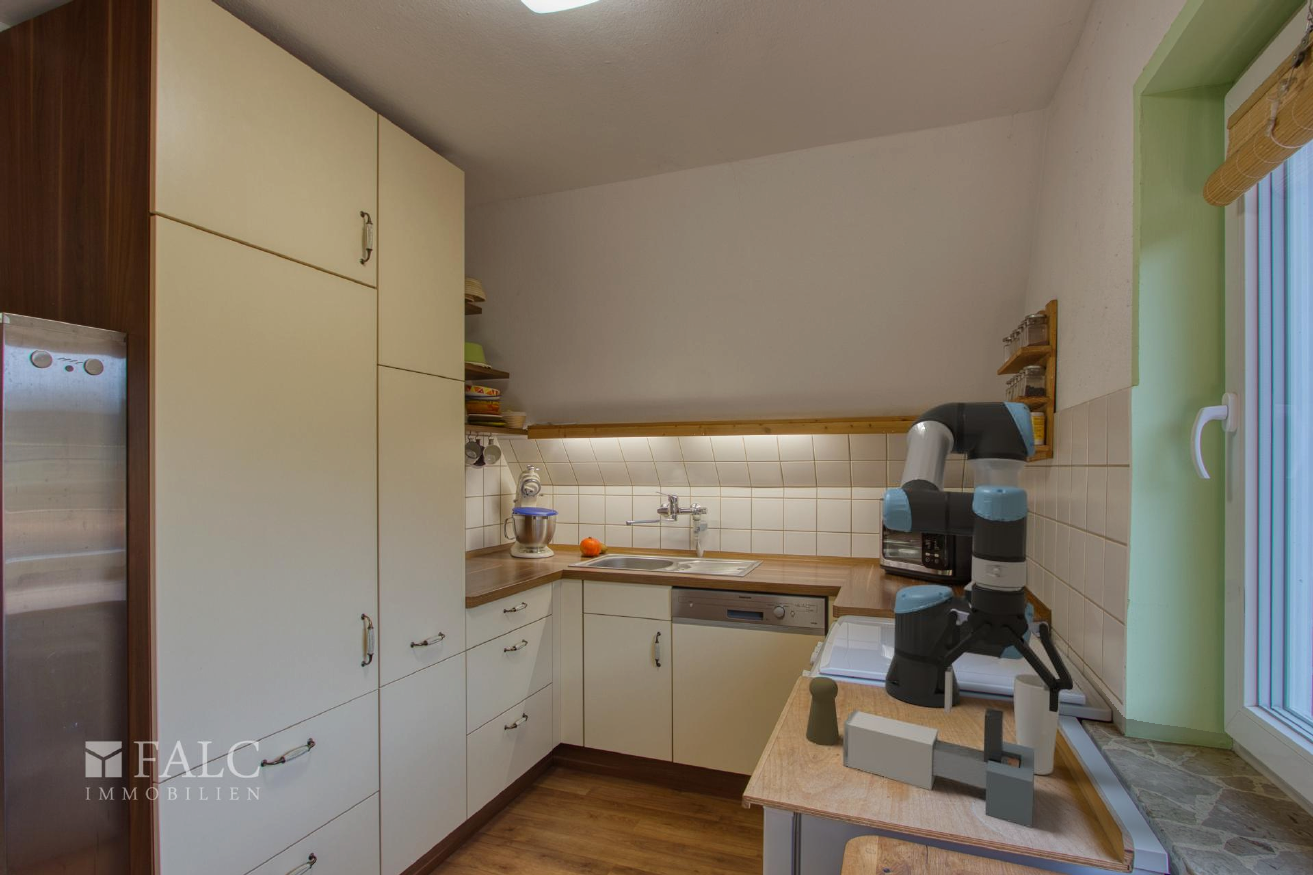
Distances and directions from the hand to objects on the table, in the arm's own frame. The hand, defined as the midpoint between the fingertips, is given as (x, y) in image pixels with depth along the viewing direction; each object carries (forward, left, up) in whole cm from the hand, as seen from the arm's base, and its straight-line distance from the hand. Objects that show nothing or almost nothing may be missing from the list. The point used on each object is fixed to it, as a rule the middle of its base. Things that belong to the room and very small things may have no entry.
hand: (995, 720), depth 103 cm
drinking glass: (-14, +5, -12) cm, 19 cm away
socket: (0, +1, -12) cm, 12 cm away
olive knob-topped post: (-5, -29, -12) cm, 32 cm away
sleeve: (0, -16, -12) cm, 20 cm away
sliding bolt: (0, -6, -10) cm, 12 cm away
